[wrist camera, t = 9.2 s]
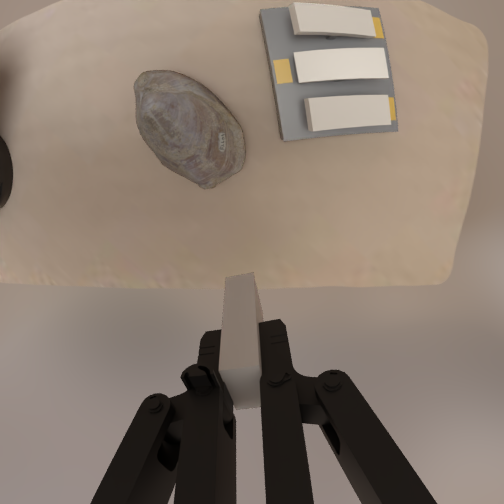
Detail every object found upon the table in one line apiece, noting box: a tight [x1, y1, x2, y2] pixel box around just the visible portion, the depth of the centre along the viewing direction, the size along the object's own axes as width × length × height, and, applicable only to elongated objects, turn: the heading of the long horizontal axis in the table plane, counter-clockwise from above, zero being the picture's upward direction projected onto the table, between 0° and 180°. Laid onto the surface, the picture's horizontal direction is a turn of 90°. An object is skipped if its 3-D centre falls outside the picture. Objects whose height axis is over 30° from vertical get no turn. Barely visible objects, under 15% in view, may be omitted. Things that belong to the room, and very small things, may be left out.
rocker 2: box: [293, 48, 389, 84], centre depth 28 cm, size 10×4×2 cm, turn 100°
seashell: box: [134, 70, 245, 189], centre depth 32 cm, size 9×12×15 cm
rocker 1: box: [288, 2, 376, 38], centre depth 25 cm, size 10×4×2 cm, turn 99°
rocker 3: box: [304, 95, 391, 131], centre depth 30 cm, size 10×4×2 cm, turn 99°
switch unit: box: [259, 6, 398, 141], centre depth 31 cm, size 15×17×5 cm
